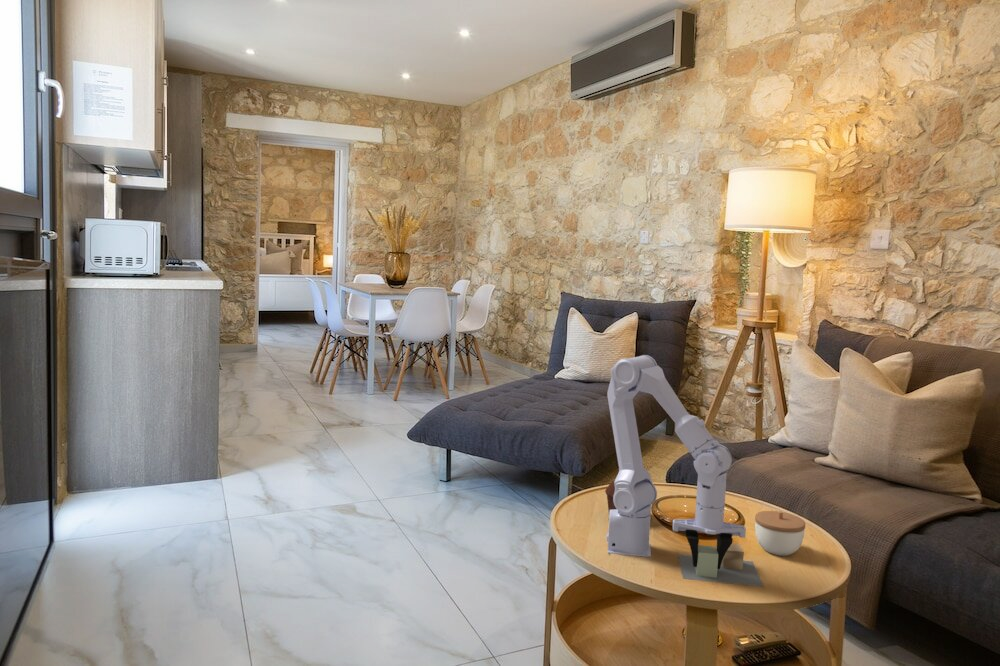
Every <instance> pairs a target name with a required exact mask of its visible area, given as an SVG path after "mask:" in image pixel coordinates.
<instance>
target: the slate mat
mask: <svg viewBox="0 0 1000 666" xmlns="http://www.w3.org/2000/svg"><path fill="white" fill-rule="evenodd" d="M677 556H678V560H679V561H678V562H679V566H680V571H681V575H682V579H684V580H693V581H701V582H702V581H703V582H712V583H713V582H715V583H723V584H731V585H732V584H733V585H742V586H750V587H751V586H752V587H759V588H760V587H762V588H765V585H764V583H763V580H762V579H761V577H760V575H759V572H758V569H757V568H756V565H755V564H754V561H752V560H751V561H750V560H743V570H737V569H727V568H723V566H722V563H721V566H720V569H717V578H716V577H706V576H697V574H696V570H695V567H694V566H693V560H692V554H691V555H689V554H679V553H677Z"/></svg>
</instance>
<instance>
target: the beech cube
mask: <svg viewBox="0 0 1000 666" xmlns="http://www.w3.org/2000/svg"><path fill="white" fill-rule="evenodd" d="M744 553H745V551H744V549H743V546H742V545H741V544H739V543H732V544H731V546H730V547H729V548H728V550H727V552H726V553H725V555H724V557H723V560H722V566H723V568H727V569H737V570H743V561H744V555H745V554H744Z"/></svg>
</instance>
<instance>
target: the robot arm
mask: <svg viewBox="0 0 1000 666" xmlns="http://www.w3.org/2000/svg"><path fill="white" fill-rule="evenodd" d="M609 371H610V376H611V377H610V381H609V384H608V388H607V393H606V394H607V395H606V396H607V400H608V402H607V403H608V408H609V409H608V410H609V414H610V421H611V427H612V433H613V439H614V444H615V445H614V446H615V452H616V458H617V464H618V474H617V475H616V477H615V479H614V480H615V482H614V485H615V492H614V495H613V502H614V505H615V507H616V509H614V510H610V512H609V511H608V517H609V518H608V532H607V533H606V542H607V554H614V555H615V554H616V555H623V556H624V555H625V556H634V557H646V558H651V557H652V552H651V551H652V550H651V543H650V530H651V515H652V512H651V511H652V505H653V504H654V503H655V502H656V500H657V497H658V491H657V488H656V486H655V484H654V483H653V481H652V477H651V473H650V472H649V471H648V470H647V469H646V468H645V467H644V462H643V456H642V455H643V454H642V450H641V449H642V448H641V441H640V438H639V431H638V425H637V419H636V418H637V417H636V413H635V407H634V401H633V400H634V397H635V396H636V395H637V394H638V393H639V392H641V393H646V394H650V395H652V396H653V397H654V399H655V401H656V402H658V404H659V405H660V406H661V407H662V409H663V410H664V412H666V414H667V415H668V416H669V417H670V419H672V420H673V422H674V432H675V434H676V435H677V437H678V439H679V440H680V441H681V442H682V444H683V446H685V448H686V449H687V451H688V452H689V453H690V455H691V456H692V458H693V459H694V460H693V467H694V470H695V471H696V473H697V483H696V484H697V486H696V499H695V500H696V501H695V512H694V513H695V515H694V518H688V519H687V518H684V519H679V518H678V519H677V518H675V519H674V518H673V520H672V531H673V532H676V533H677V532H679V531H681V532H685V536H686V539H687V543H688V545H689V548H690V552H691V555H692V560H693V566H694V567H697V552H698V545H699V542H700V540H699V539H700V538H699V533H701V534H703V533H704V534H707V535H716V549H717V552H718V568H717V569H720V566H721V563H722V560H723V557H724V555H725V553H726V552H727V550H728V548H729V547H730V546H731V544H733V536H735V537H739V538H744V539H745V538H746V526H745V525H743V524H742V525H741V524H735V523H731V522H727V521H724V519H725V518H724V517H725V508H726V507H725V506H726V505H725V504H726V493H727V491H726V490H727V475H728V473H727V470H729V468H731V466H732V465H733V464H732V462H733V458H732V454H731V453H730V451H729V448H728V447H726V446H725V445H723V444H720V443H719V441H718V440H717V439H715V438H714V437H713V436H712V435H711V433H710V432H709V430H708V429H707V428H706V422H705V421H704V419H699V417H698V416H697V415H692V414H690V413H689V412H688V411H687V409H686V407H685V406H684V405H683V403H682V401H681V400H680V399H679V397H678V395H677V394H676V392H675V391H674V389H673V388H672V386H671V384H670V383H669V381H668V380H667V379H666V376H665V374H664V370H663V368H662V367H660V365H658V364H657V362H656V359H654V357H652V356H650V355H648V354H642V355H639V356H634V357H628V358H621V359H619V360H618V361H617V362H615V364H614V365H613V366H612V367H611V369H610V370H609Z"/></svg>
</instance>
